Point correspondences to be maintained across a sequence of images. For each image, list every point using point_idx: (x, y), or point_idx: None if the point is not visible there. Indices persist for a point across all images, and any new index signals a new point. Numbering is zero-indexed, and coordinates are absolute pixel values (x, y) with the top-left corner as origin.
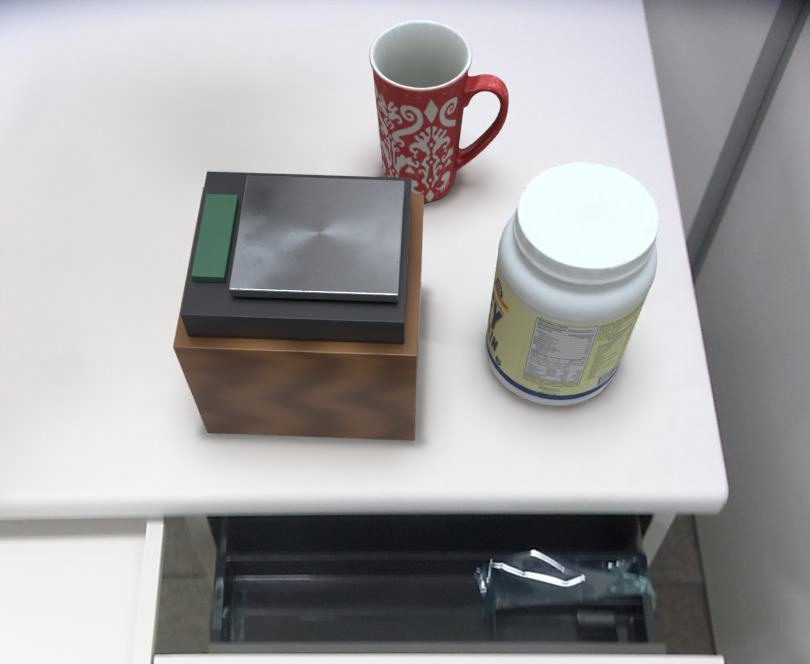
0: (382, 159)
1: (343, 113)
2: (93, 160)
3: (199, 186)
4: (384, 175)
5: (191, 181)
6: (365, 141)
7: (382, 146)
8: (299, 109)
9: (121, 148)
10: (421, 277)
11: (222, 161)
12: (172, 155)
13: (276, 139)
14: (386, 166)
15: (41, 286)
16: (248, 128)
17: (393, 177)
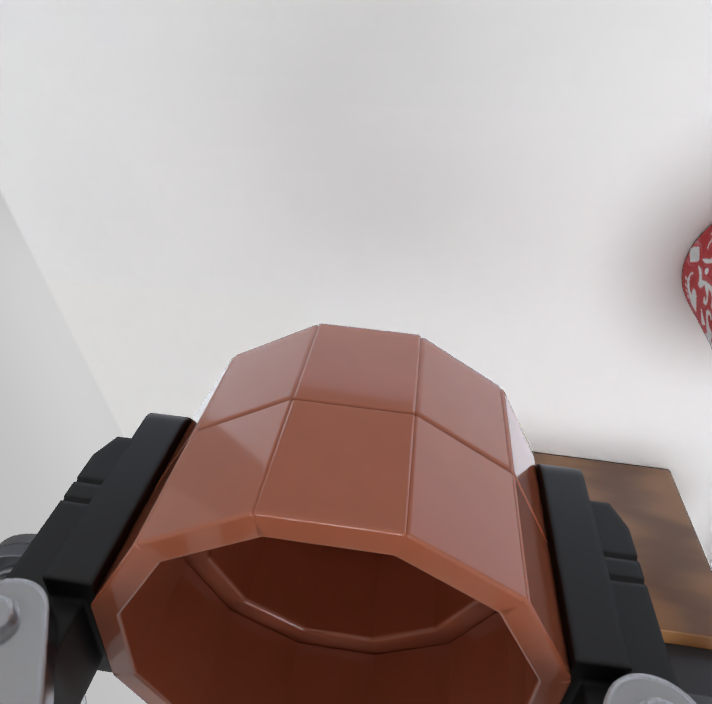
0: (696, 301)
1: (647, 64)
2: (138, 184)
3: (337, 256)
4: (687, 290)
5: (321, 244)
6: (675, 159)
7: (707, 333)
8: (543, 46)
9: (178, 155)
10: (680, 497)
11: (374, 199)
12: (278, 178)
13: (482, 144)
14: (698, 320)
15: (148, 408)
16: (423, 107)
17: (701, 695)
